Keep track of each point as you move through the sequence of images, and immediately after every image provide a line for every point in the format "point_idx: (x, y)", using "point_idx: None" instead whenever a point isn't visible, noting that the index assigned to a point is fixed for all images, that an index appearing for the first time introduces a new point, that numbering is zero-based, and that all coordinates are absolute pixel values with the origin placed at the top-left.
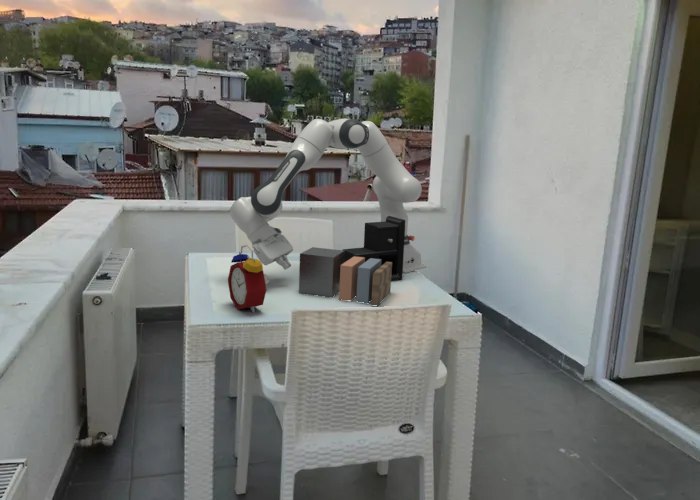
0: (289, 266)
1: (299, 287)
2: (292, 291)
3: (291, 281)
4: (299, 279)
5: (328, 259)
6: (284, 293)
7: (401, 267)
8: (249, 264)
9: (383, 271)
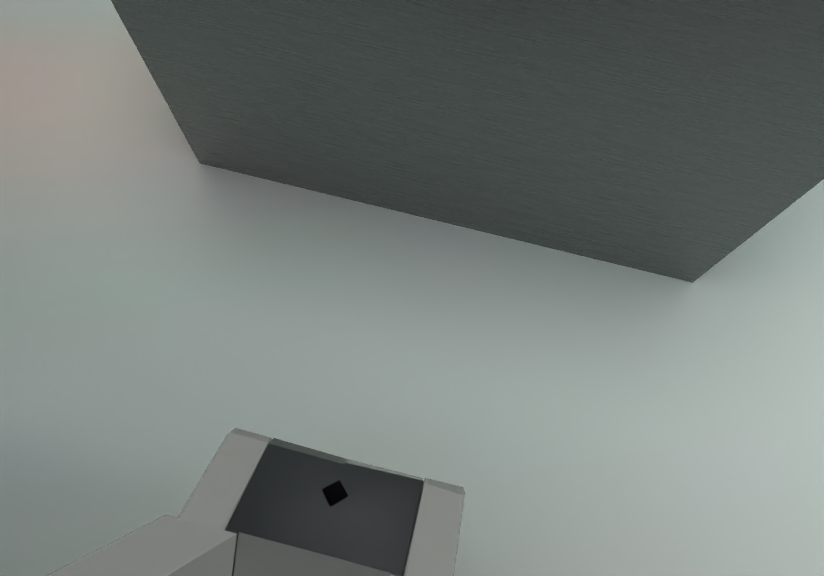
0: (354, 463)
1: (730, 245)
2: (623, 388)
3: (29, 500)
4: (800, 193)
5: None
6: (768, 493)
7: None
8: None
9: None
